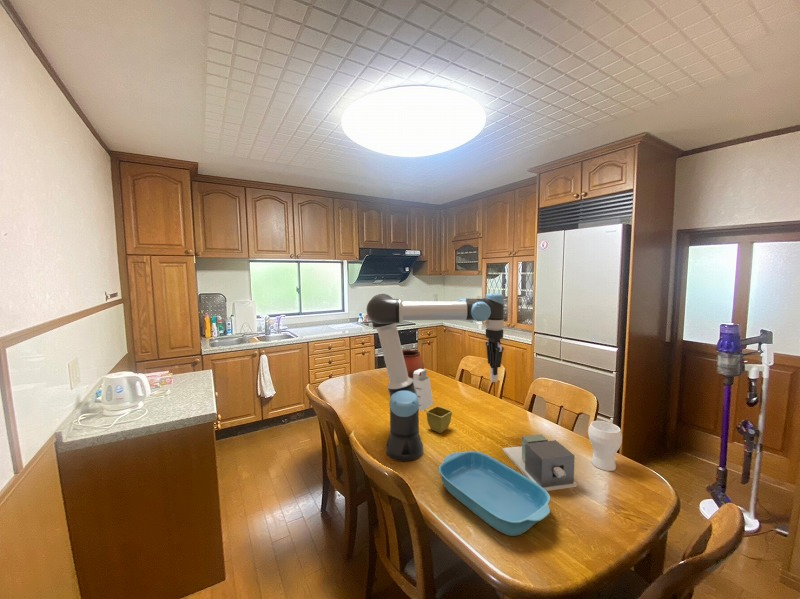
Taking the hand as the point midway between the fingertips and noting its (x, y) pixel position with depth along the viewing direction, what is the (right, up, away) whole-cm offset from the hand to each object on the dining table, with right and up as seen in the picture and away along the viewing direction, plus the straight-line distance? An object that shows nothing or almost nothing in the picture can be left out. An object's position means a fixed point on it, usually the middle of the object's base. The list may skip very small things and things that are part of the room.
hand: (493, 381), depth 144 cm
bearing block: (+11, -26, -30) cm, 41 cm away
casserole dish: (-13, -29, -40) cm, 51 cm away
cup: (+35, -26, -22) cm, 49 cm away
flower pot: (-23, -25, +7) cm, 35 cm away
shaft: (+10, -25, -28) cm, 39 cm away
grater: (-31, -22, +34) cm, 51 cm away
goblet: (-37, -21, +54) cm, 69 cm away
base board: (+9, -26, -23) cm, 36 cm away
